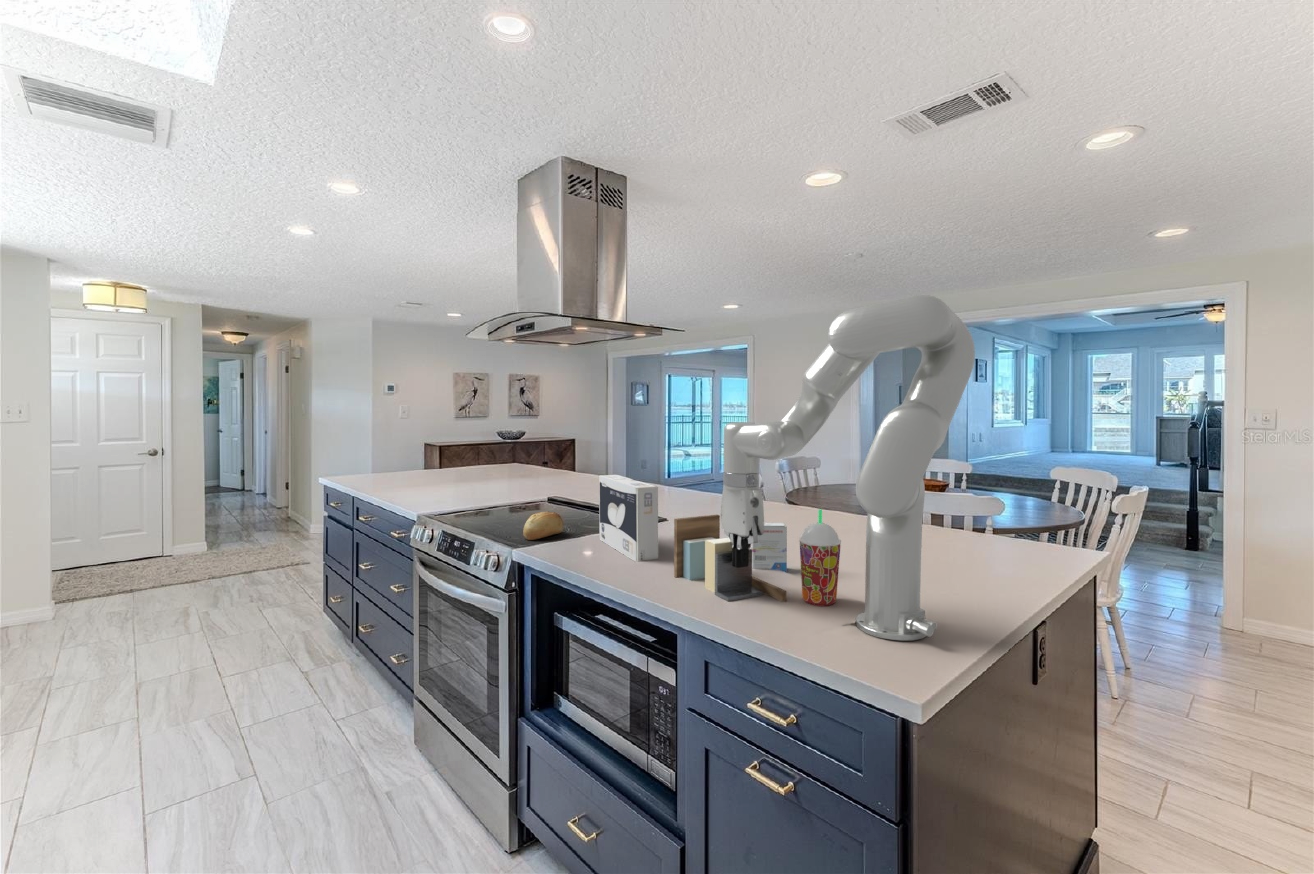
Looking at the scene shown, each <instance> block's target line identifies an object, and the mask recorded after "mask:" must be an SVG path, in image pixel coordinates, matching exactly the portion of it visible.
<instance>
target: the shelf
mask: <svg viewBox="0 0 1314 874" xmlns="http://www.w3.org/2000/svg"><path fill="white" fill-rule="evenodd" d="M673 521H674V522H673V523H674V524H673V525H674V528H673V529H674V531H673V532H674V533H673V537H674V538H673V539H674V540H673V541H674V547H673V550H674V551H673V552H674V554H673V555H674V558H673V560H674V563H673V564H674V569H673V570H674V573H673V575H674V578H675V579H681V578H684V577H683V540H692V539H700V538H708V537H713V538H716V539H720V538H721V536H720V535H721V533H720V531H721V530H720V529H721V528H720V526H721V514H710V515H700V516H691V517H681V518H680V517H678V518H674V520H673ZM752 587H755V588H757V589H759V590H761V591H763V595H764V594H765V595H767V596H769V597H771V598H773V599H775V600H777V601H780V602H787V590H785V589H783V588H781V587H778V586H776V585H773V584H771V583H770V582H766V581H765V580H762V579H760V578H758V577H754V576H753V575H752Z"/></svg>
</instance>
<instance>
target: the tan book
mask: <svg viewBox="0 0 1314 874" xmlns="http://www.w3.org/2000/svg"><path fill="white" fill-rule="evenodd" d="M732 548H733V547H731V545H730V538H729V537H723V538H722V537H720V539H712V540H705V578H704V589H706V590H708V591H709V592H712V593H713V594H715V553H720V552H727V551H732Z"/></svg>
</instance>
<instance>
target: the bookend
mask: <svg viewBox="0 0 1314 874" xmlns="http://www.w3.org/2000/svg"><path fill="white" fill-rule="evenodd" d="M752 576H753V569H752V549H751V548H749V565H748V567H742V568H736V567H734V566H732V551H727V552H720V553H715V593H714V595H715V596H716V597H718V598H721V599H722V600H724V601H727V602H732V601H733V602H734V601H738V600H743V599H749V598H754V597H759V596H763V595H764V593H763V591H761V590H759V589H757V588H755V587H752Z"/></svg>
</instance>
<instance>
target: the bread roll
mask: <svg viewBox="0 0 1314 874" xmlns="http://www.w3.org/2000/svg"><path fill="white" fill-rule="evenodd" d="M564 524H565V523H564V520H563V518H562V516H561V515H560V513H557V512H555V511H554V512H552V511H541V512H536V513H534V514H532V515H530V516H529V517H528V519H527V520H526V522H525V523H524V526H523V529H522V531H523V533H522V536H523V537H524V538H525V539H526V540H528V541H535V540H539V539H543V538H547V537H549V536H553V535H557V534H560V533H562V531H563V530H564Z"/></svg>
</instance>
